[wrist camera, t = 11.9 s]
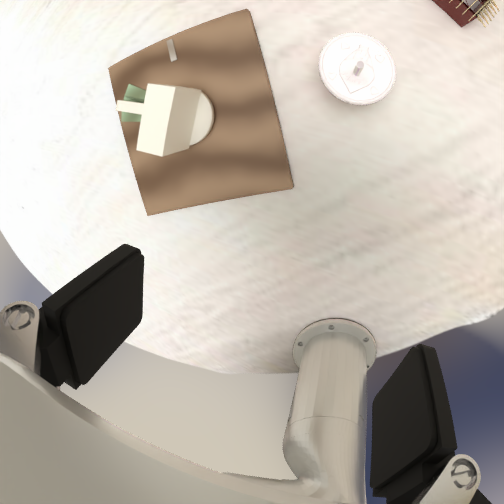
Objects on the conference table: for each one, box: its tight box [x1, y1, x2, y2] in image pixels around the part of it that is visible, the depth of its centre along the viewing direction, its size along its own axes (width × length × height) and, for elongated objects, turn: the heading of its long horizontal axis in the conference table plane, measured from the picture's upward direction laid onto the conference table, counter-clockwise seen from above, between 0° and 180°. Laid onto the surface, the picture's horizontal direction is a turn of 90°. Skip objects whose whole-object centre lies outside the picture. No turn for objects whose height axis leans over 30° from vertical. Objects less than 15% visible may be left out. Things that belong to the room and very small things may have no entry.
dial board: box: [108, 9, 294, 216], centre depth 34 cm, size 22×20×1 cm
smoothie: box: [318, 32, 396, 105], centre depth 22 cm, size 6×6×14 cm
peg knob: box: [116, 83, 214, 157], centre depth 30 cm, size 14×7×7 cm, turn 76°
